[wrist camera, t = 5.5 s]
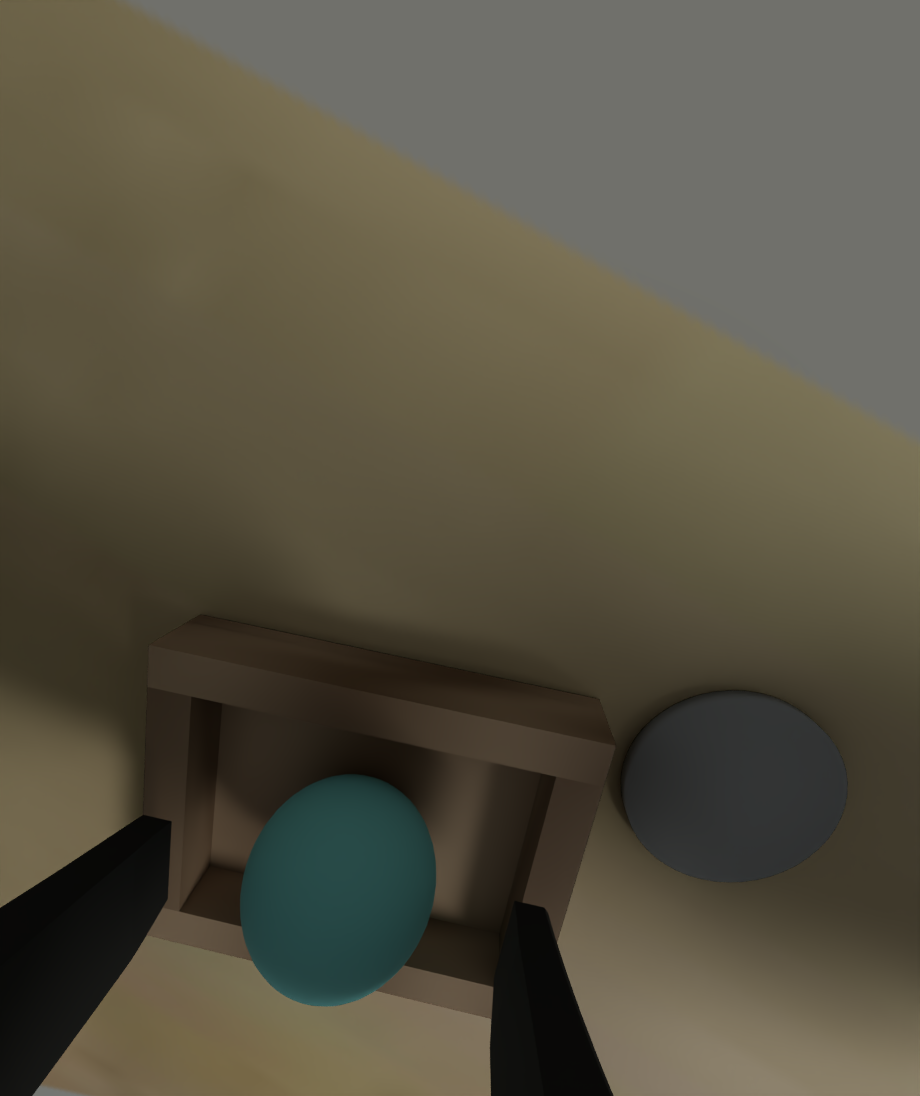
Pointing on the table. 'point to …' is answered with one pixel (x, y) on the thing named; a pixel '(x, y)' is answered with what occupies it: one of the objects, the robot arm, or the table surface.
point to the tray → (377, 751)
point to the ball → (338, 890)
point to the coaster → (733, 786)
